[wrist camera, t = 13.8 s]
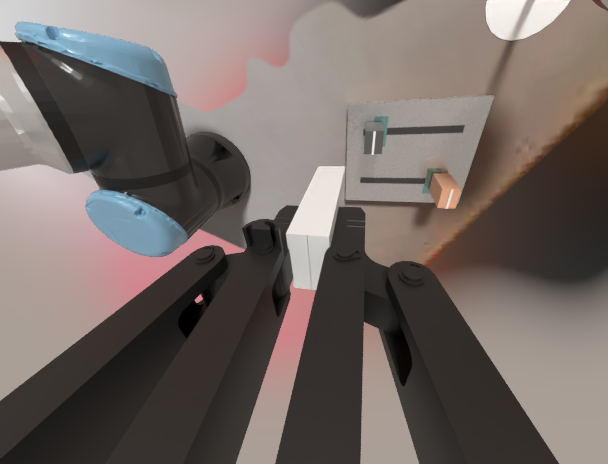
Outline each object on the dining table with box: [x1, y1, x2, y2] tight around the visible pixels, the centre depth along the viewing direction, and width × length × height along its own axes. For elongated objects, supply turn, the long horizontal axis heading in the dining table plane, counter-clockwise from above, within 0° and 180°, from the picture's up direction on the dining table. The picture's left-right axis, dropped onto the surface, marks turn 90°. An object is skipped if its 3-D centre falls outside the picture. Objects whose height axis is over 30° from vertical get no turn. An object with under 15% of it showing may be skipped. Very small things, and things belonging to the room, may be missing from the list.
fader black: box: [364, 122, 384, 155], centre depth 34 cm, size 2×3×6 cm
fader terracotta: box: [429, 173, 462, 209], centre depth 36 cm, size 2×3×6 cm
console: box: [346, 94, 494, 203], centre depth 38 cm, size 19×16×2 cm
